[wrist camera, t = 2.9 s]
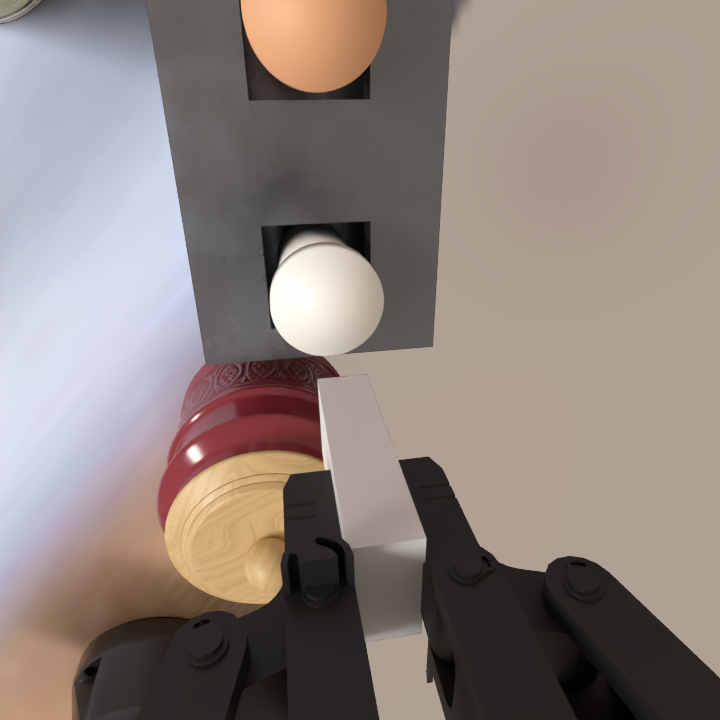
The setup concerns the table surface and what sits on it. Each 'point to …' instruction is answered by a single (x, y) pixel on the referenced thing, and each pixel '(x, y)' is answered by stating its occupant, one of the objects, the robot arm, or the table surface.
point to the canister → (239, 472)
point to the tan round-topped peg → (315, 39)
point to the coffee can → (15, 8)
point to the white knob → (323, 292)
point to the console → (303, 168)
